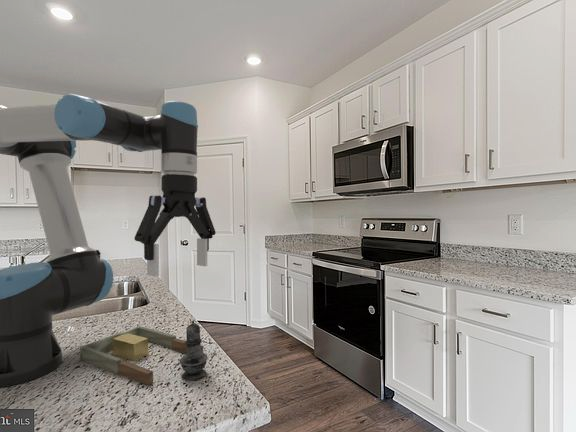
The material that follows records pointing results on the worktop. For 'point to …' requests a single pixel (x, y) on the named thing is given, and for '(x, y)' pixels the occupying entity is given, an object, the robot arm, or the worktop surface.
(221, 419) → the worktop surface
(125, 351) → the tan wooden cube
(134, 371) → the frame
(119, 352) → the chip
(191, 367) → the salt shaker
